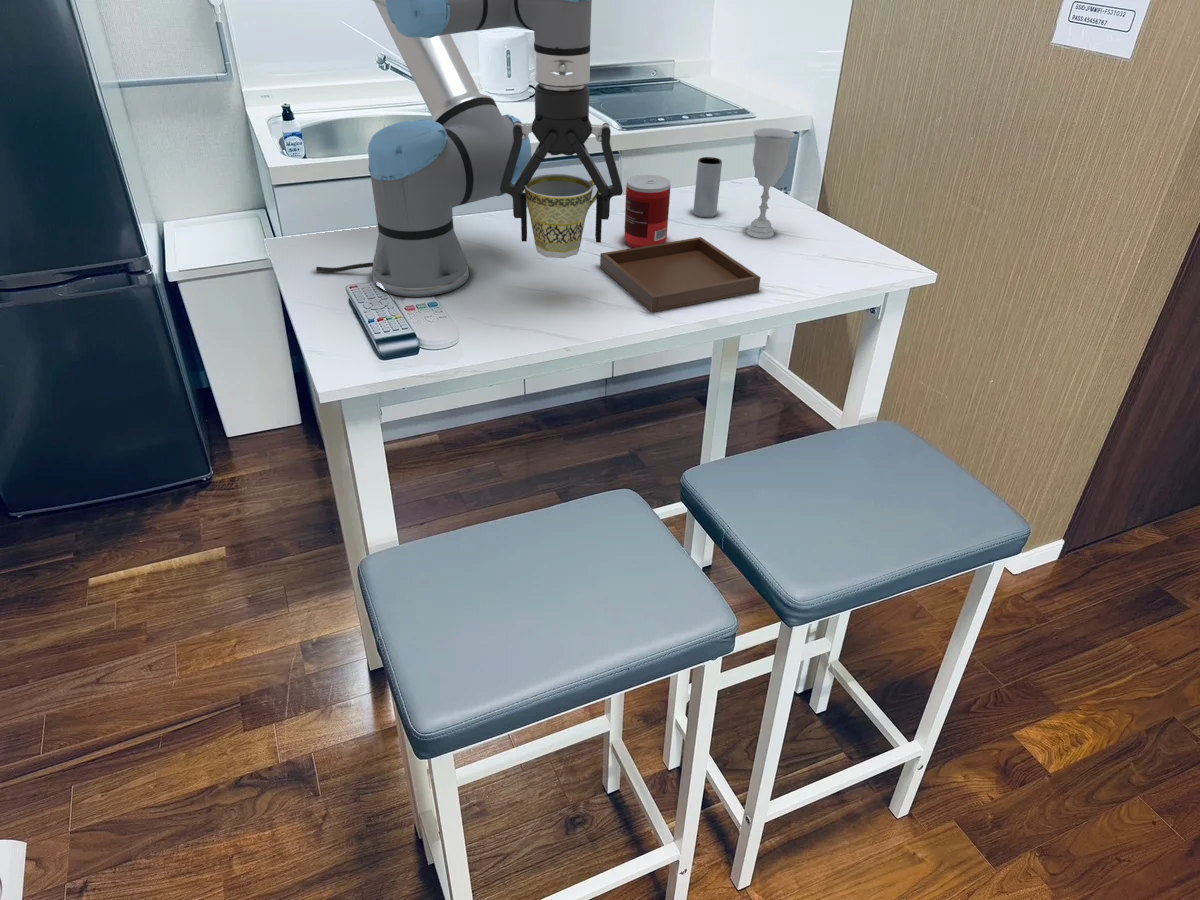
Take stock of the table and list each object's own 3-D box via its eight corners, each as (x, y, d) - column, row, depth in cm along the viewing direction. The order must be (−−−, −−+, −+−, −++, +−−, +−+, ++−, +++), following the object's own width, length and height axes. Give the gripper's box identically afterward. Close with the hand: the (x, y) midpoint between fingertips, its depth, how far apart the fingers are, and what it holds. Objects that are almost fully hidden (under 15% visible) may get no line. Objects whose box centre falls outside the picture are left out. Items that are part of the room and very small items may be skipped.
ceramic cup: (551, 269, 122) (551, 201, 116) (512, 246, 128) (510, 181, 122) (619, 248, 129) (622, 184, 123) (578, 228, 135) (579, 165, 129)
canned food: (667, 235, 154) (671, 175, 148) (665, 252, 148) (670, 190, 141) (625, 232, 155) (628, 173, 148) (622, 249, 148) (624, 187, 142)
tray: (651, 312, 128) (652, 297, 127) (599, 267, 142) (600, 253, 140) (758, 291, 135) (760, 277, 134) (699, 250, 149) (700, 236, 147)
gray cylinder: (704, 208, 167) (709, 155, 161) (721, 214, 164) (727, 161, 158) (688, 212, 164) (693, 159, 158) (704, 219, 161) (710, 165, 155)
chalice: (749, 241, 153) (763, 139, 142) (734, 228, 158) (746, 129, 148) (786, 237, 155) (802, 137, 144) (770, 224, 160) (784, 127, 149)
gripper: (475, 88, 111) (483, 247, 124) (648, 93, 112) (638, 249, 125) (479, 76, 117) (487, 228, 130) (643, 80, 118) (634, 230, 131)
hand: (561, 238), depth 128 cm, fingers closed on ceramic cup, 10 cm apart
